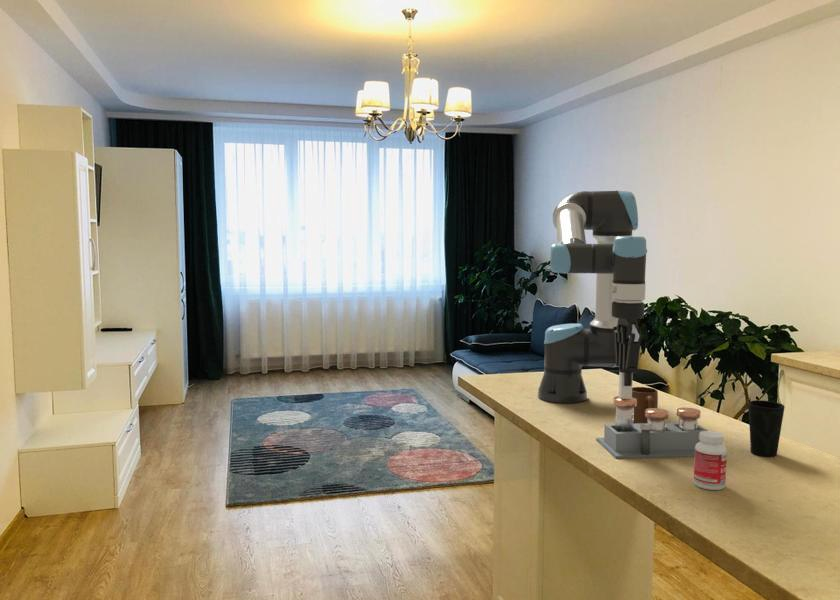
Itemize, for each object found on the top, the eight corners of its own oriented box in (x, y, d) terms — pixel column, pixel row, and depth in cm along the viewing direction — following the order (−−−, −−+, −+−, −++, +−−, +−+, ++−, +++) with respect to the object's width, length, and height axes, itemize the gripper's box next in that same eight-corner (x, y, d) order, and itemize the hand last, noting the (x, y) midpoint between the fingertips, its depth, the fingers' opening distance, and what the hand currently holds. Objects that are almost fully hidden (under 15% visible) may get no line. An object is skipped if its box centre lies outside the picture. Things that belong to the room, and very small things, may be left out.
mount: (596, 440, 175) (596, 420, 174) (691, 438, 177) (692, 419, 176) (615, 458, 161) (616, 437, 160) (719, 455, 163) (720, 435, 162)
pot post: (637, 451, 164) (638, 423, 163) (648, 451, 164) (649, 423, 163) (641, 455, 161) (642, 427, 160) (652, 455, 161) (653, 426, 161)
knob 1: (609, 429, 170) (610, 396, 169) (630, 429, 171) (631, 396, 170) (617, 436, 165) (618, 401, 164) (639, 435, 165) (640, 401, 164)
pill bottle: (725, 492, 140) (728, 439, 139) (693, 488, 142) (695, 436, 141) (724, 482, 146) (726, 431, 145) (693, 478, 148) (695, 428, 147)
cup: (738, 450, 166) (741, 402, 165) (761, 446, 169) (764, 399, 168) (765, 460, 159) (768, 409, 158) (789, 456, 162) (792, 406, 161)
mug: (666, 432, 182) (667, 397, 181) (637, 431, 182) (638, 397, 181) (651, 419, 194) (652, 386, 193) (624, 419, 194) (625, 386, 193)
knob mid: (640, 441, 171) (641, 408, 170) (661, 440, 172) (662, 407, 171) (649, 448, 166) (650, 414, 165) (671, 447, 166) (672, 413, 165)
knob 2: (671, 440, 172) (673, 407, 171) (692, 440, 172) (694, 407, 171) (681, 447, 166) (682, 413, 165) (703, 446, 167) (704, 413, 166)
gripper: (603, 298, 171) (601, 392, 173) (622, 304, 158) (619, 405, 160) (633, 298, 171) (630, 391, 173) (654, 303, 158) (651, 404, 161)
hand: (625, 397), depth 167 cm, fingers closed
